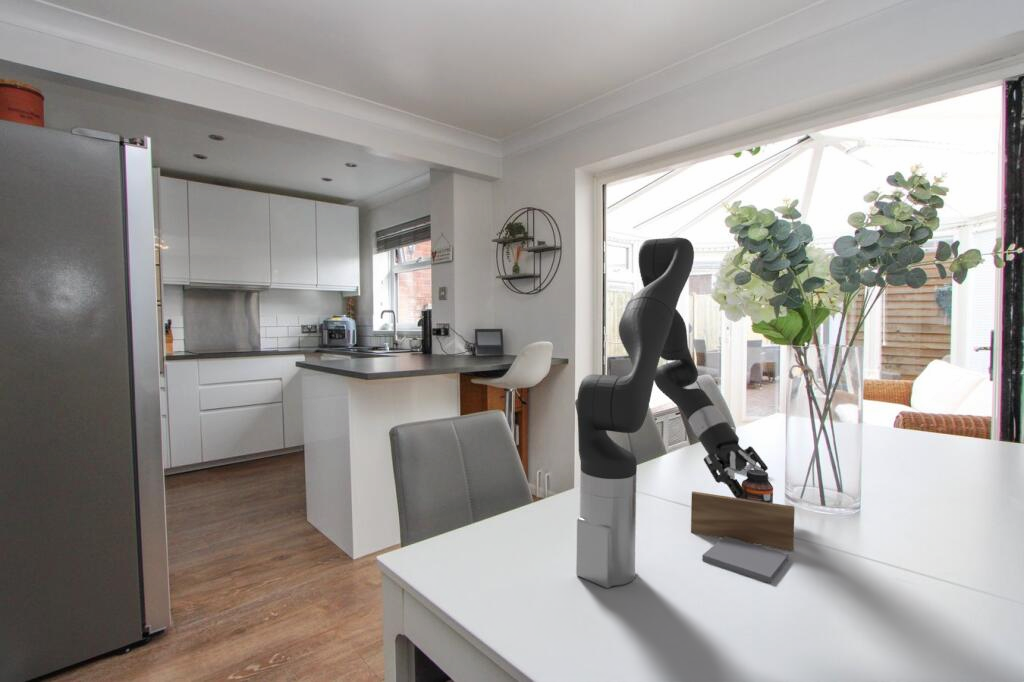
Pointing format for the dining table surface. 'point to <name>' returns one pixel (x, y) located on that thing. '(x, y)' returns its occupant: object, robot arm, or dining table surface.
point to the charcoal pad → (746, 558)
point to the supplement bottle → (758, 486)
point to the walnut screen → (743, 520)
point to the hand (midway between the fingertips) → (756, 495)
